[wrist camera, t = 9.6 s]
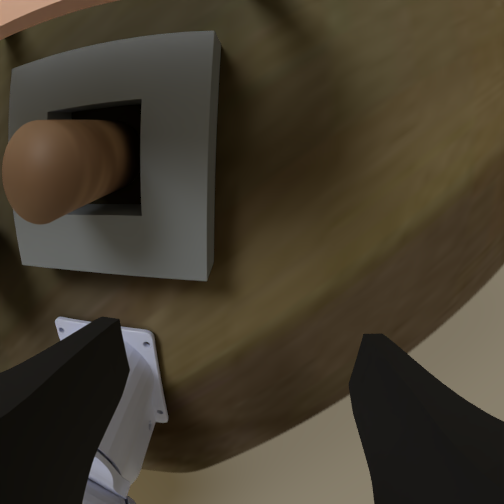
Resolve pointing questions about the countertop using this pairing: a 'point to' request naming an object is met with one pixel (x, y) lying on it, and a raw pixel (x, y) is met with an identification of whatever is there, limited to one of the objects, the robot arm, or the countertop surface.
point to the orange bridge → (37, 12)
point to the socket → (151, 154)
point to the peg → (67, 165)
